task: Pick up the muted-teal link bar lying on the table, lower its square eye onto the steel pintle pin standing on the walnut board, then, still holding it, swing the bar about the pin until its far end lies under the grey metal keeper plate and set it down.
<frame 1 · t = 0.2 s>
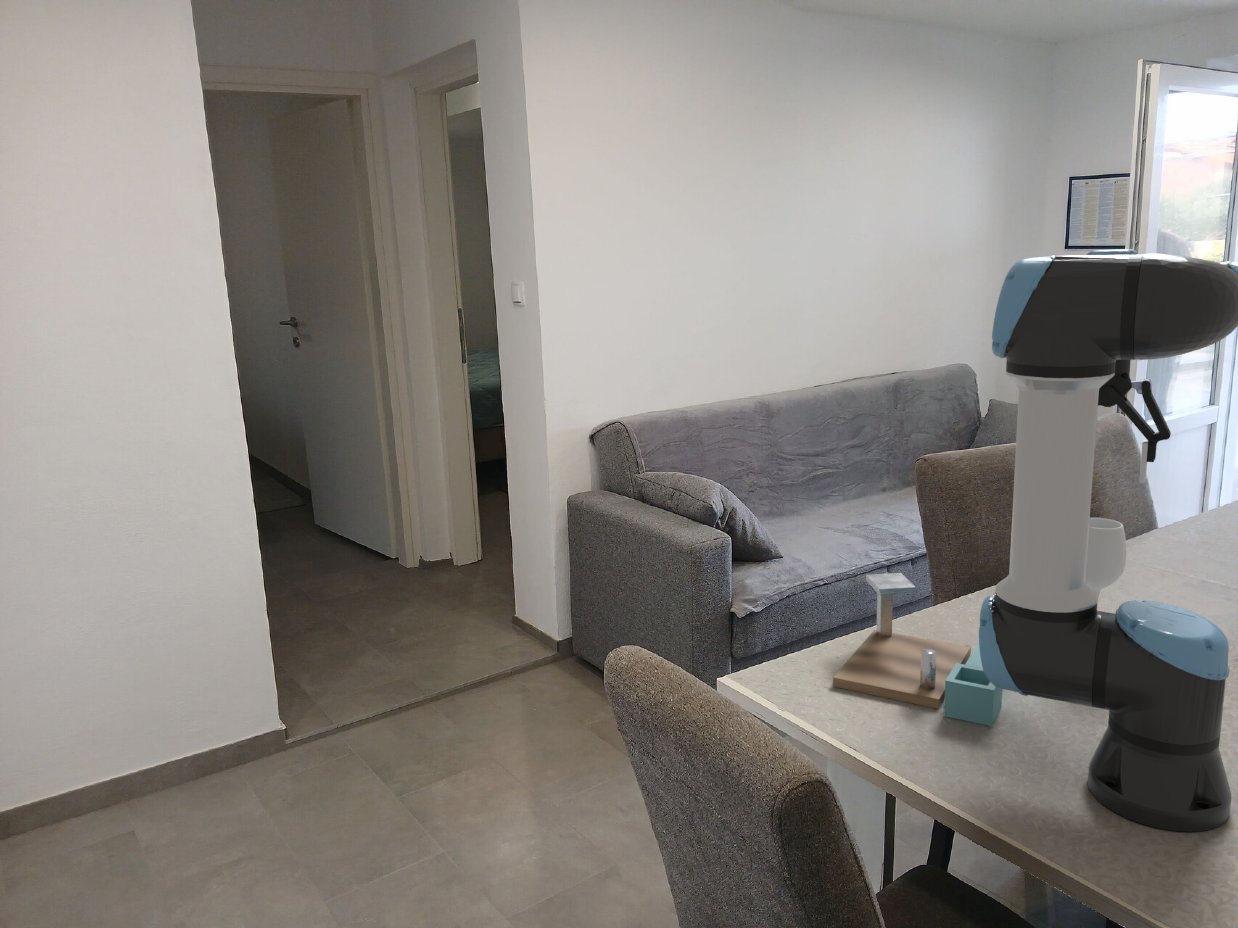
hand: (1095, 477, 157), 28 cm above the table, fingers open, 13 cm apart
board: (903, 670, 153), on the table
wineglass: (1091, 644, 160), on the table
keeper: (883, 642, 164), resting on board
link: (995, 668, 152), on the table
pintle: (927, 695, 144), resting on board
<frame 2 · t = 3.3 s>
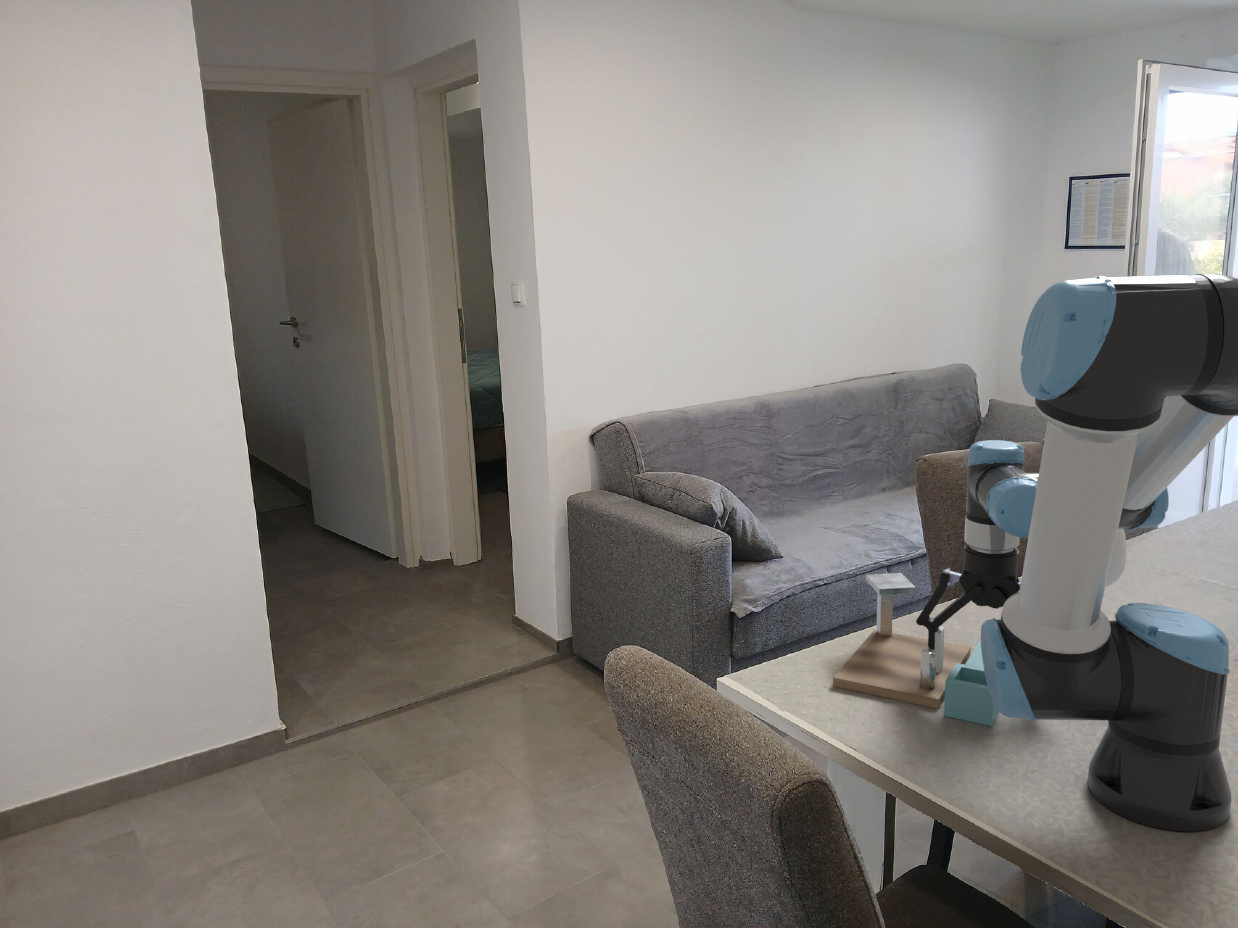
hand: (984, 678, 145), 2 cm above the table, fingers open, 13 cm apart
nothing on the table moved.
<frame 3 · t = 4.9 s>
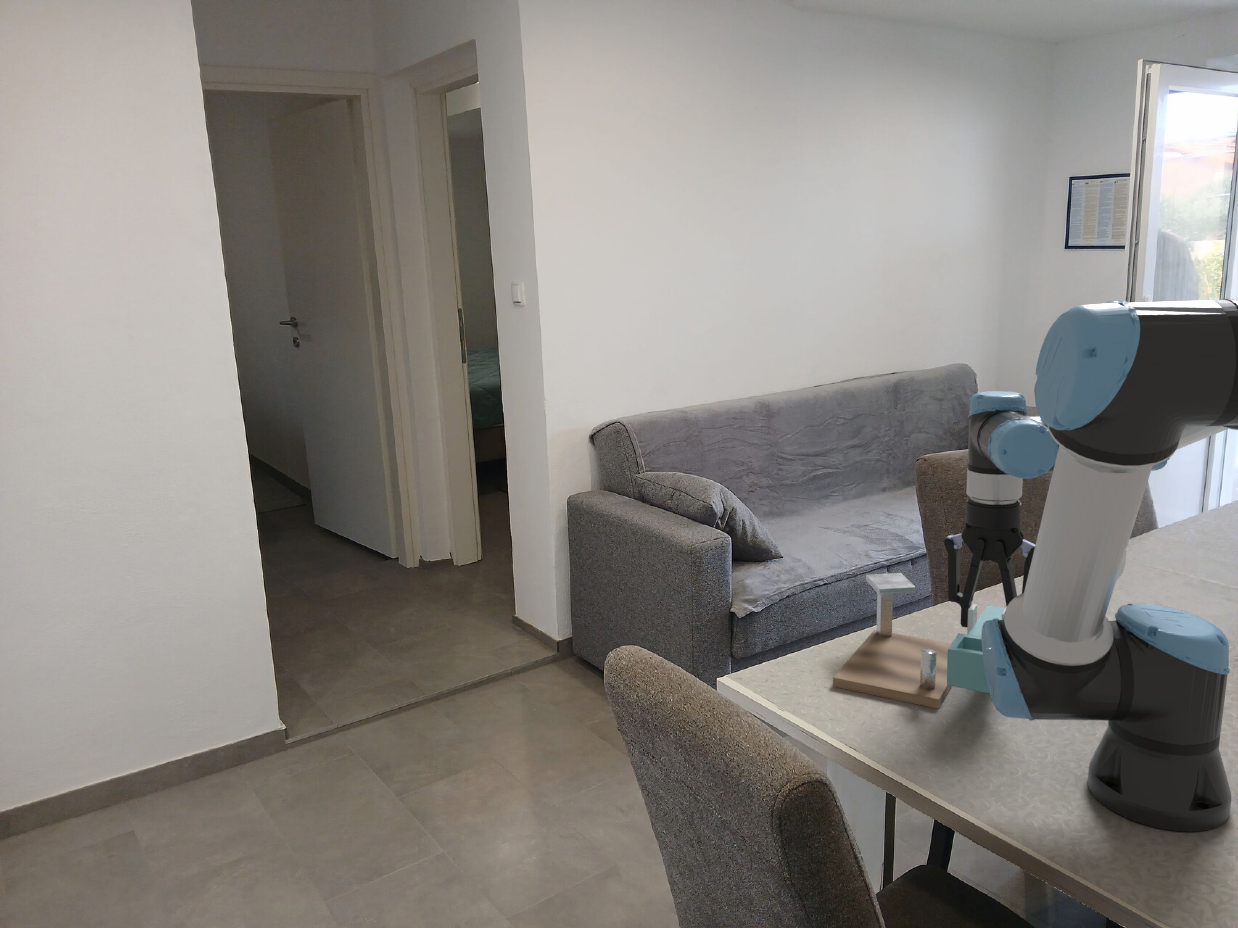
hand: (987, 650, 143), 7 cm above the table, fingers closed on link, 4 cm apart
link: (998, 642, 150), point 5 cm above the table, touching gripper
everything else where it was.
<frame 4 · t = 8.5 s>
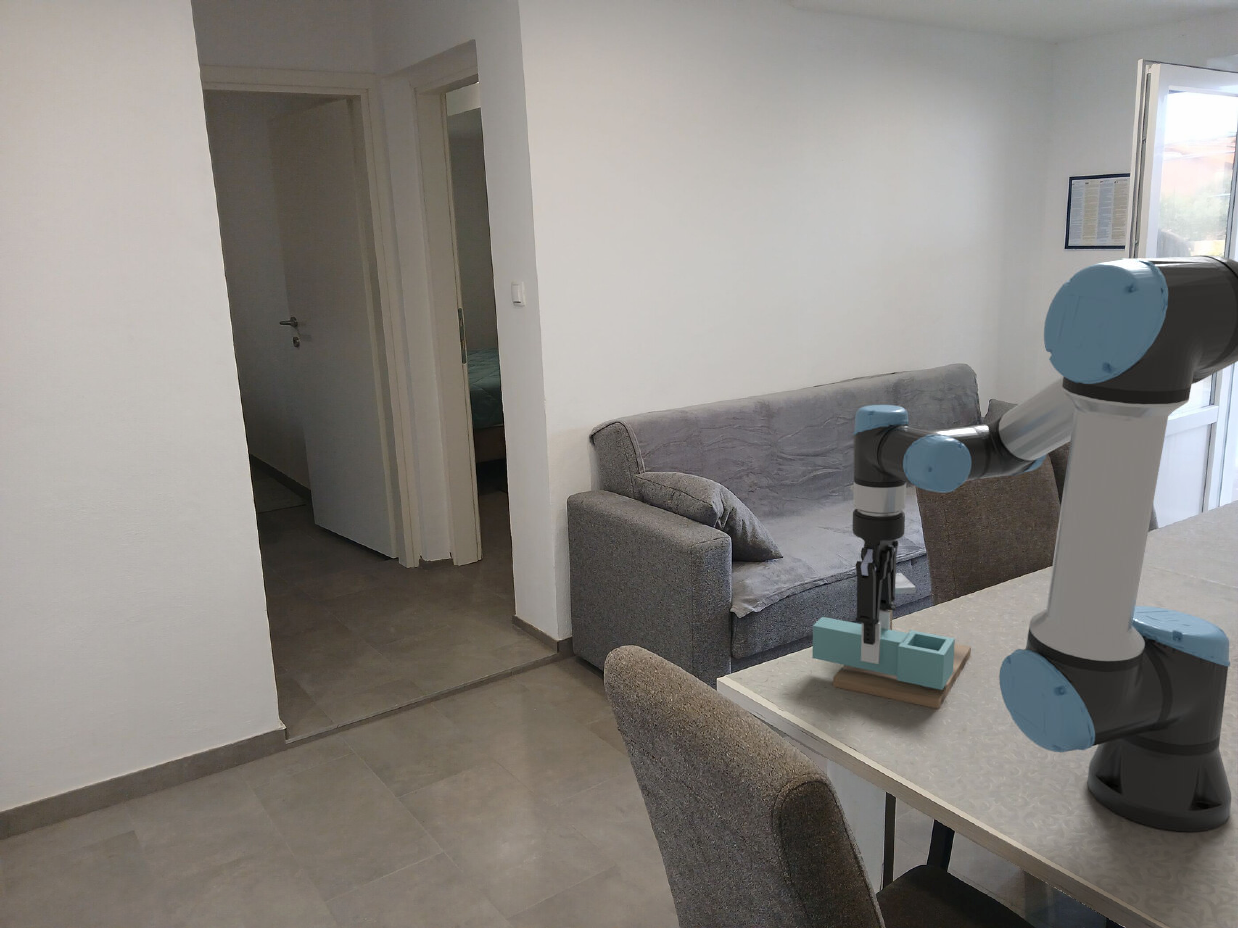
hand: (875, 655, 147), 5 cm above the table, fingers closed on link, 4 cm apart
link: (822, 654, 152), point 3 cm above the table, touching gripper
everything else where it was.
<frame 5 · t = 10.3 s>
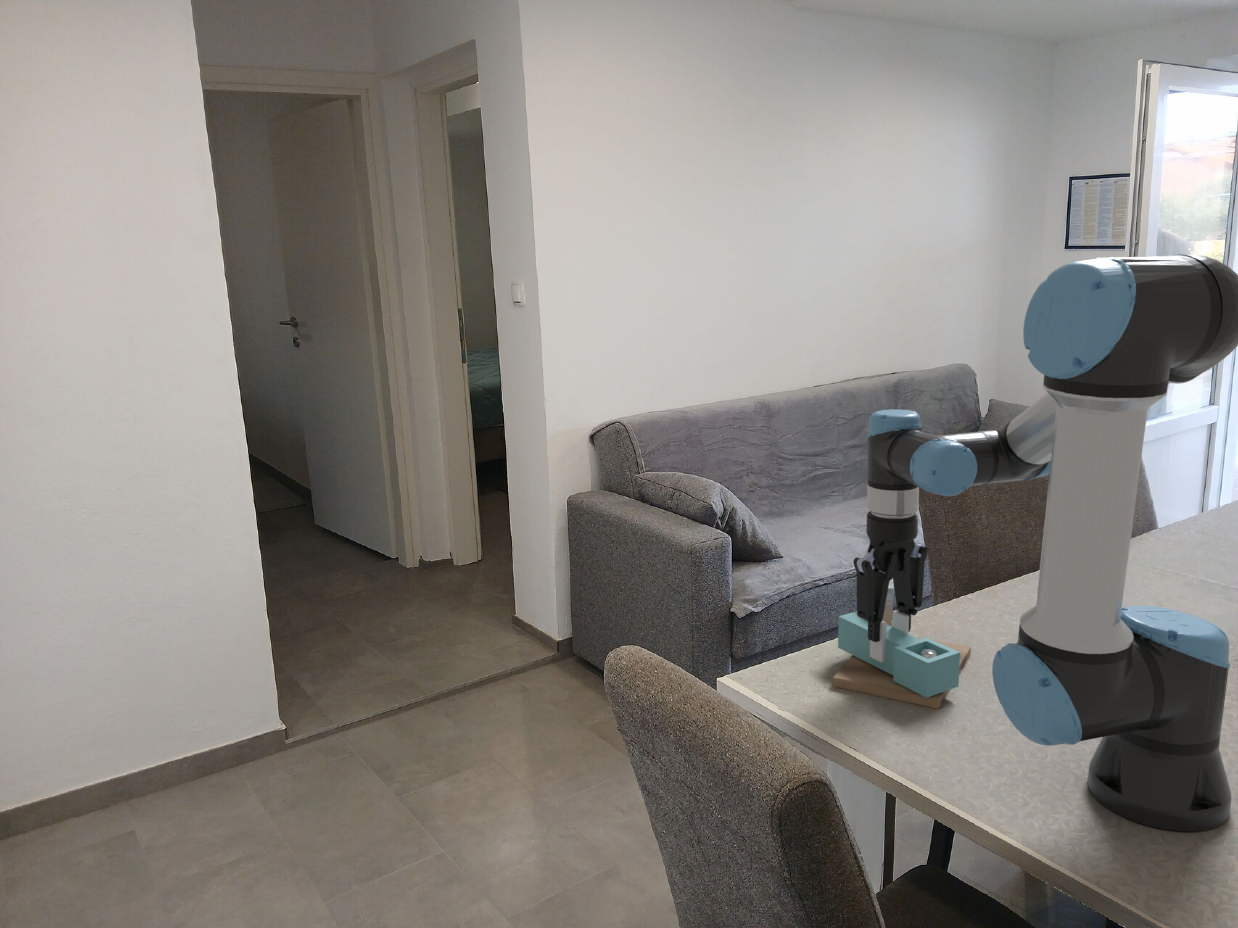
hand: (888, 655, 150), 4 cm above the table, fingers closed on link, 4 cm apart
link: (851, 646, 158), point 2 cm above the table, touching gripper
everything else where it was.
when the fingers open (3 cm above the table, at t = 11.9 s): link stays where it is, resting on board.
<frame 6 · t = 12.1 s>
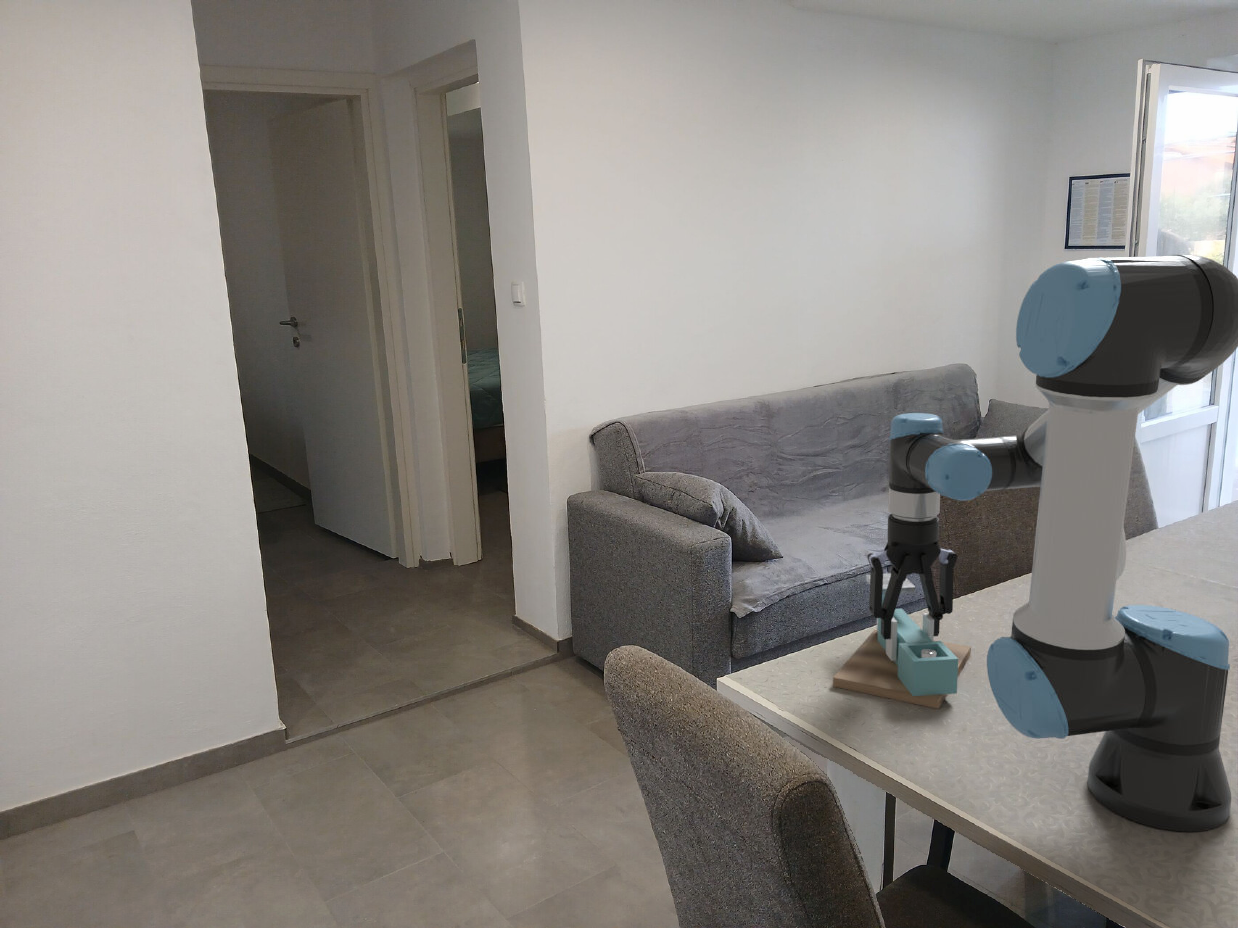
hand: (909, 655, 151), 3 cm above the table, fingers open, 5 cm apart
link: (891, 642, 160), point 1 cm above the table, touching board
everything else where it was.
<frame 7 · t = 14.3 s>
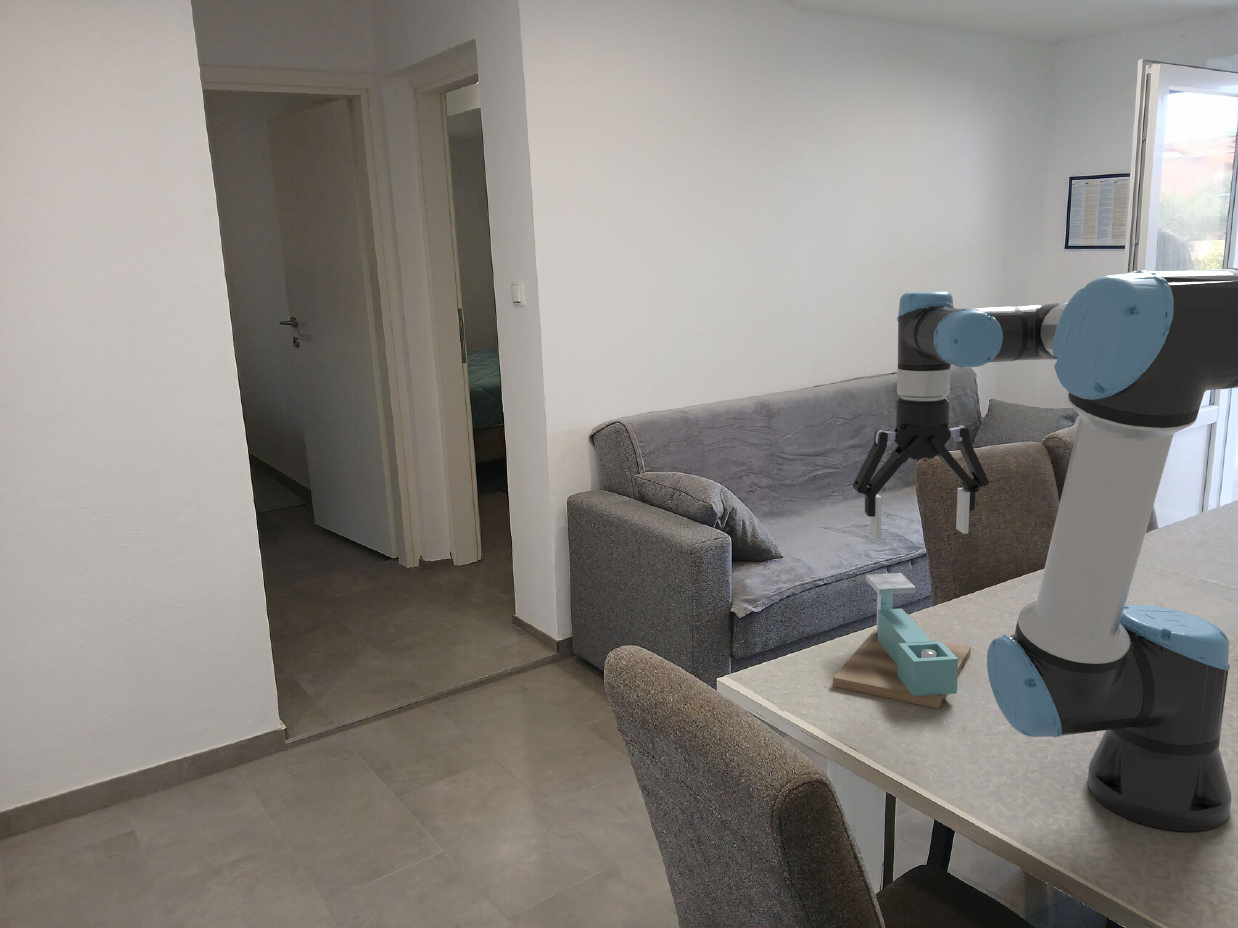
hand: (918, 533, 147), 23 cm above the table, fingers open, 13 cm apart
nothing on the table moved.
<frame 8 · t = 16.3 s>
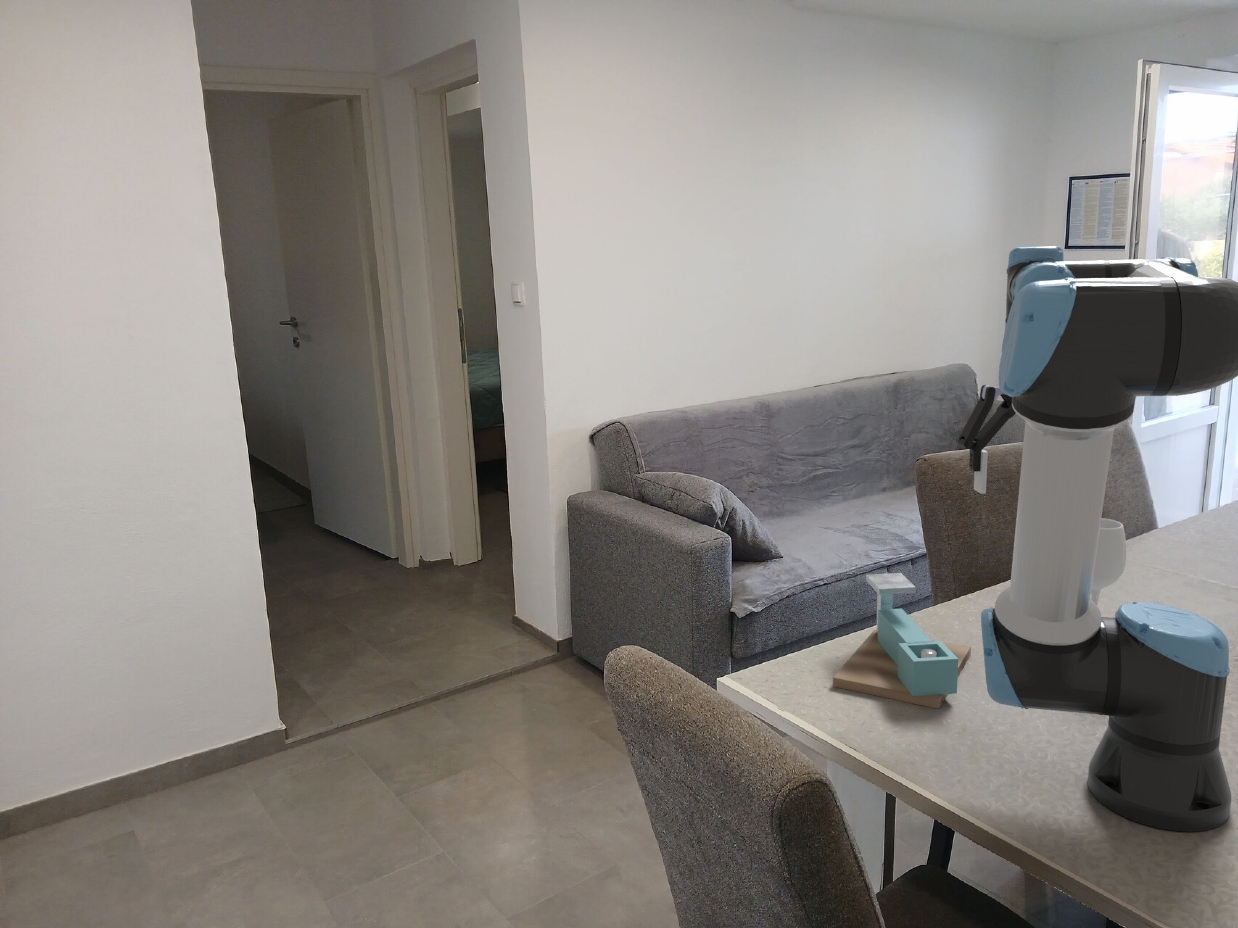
hand: (1022, 489, 148), 29 cm above the table, fingers open, 13 cm apart
nothing on the table moved.
at the end: link inside the target area (1.0 cm from its centre), point 1.5 cm above the table; link tilted 0°; the gripper is holding nothing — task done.
